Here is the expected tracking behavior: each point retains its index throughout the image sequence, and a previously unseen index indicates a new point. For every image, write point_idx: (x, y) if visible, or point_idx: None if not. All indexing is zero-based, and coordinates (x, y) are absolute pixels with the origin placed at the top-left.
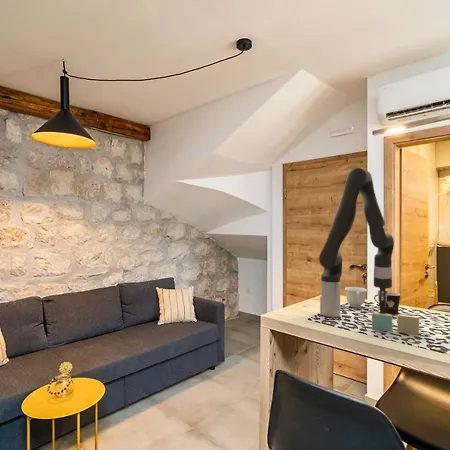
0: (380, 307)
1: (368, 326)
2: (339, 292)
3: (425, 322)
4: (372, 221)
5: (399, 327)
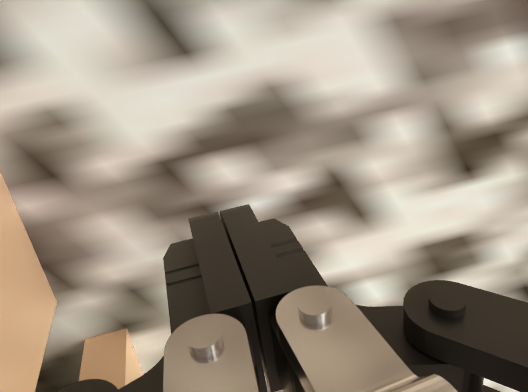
0: (210, 309)
1: (5, 16)
2: None
3: (507, 387)
4: None
5: None
